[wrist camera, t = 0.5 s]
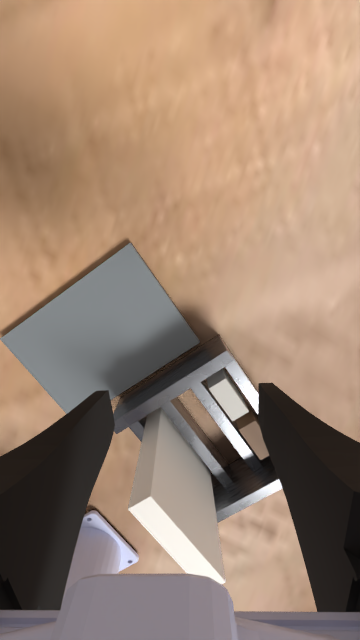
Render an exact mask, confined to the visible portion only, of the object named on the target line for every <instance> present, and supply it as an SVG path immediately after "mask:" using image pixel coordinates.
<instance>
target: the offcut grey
mask: <svg viewBox="0 0 360 640" xmlns="http://www.w3.org/2000/svg"><path fill="white" fill-rule="evenodd" d="M206 379H207V383H208V388H209V390H210V391H211V393H212V394H213V395H214V397H215V398H216V400H217V401H218V402H219V404H220V405H221V406H222V408H223V409H224V411H225V412H226V413H227V415H228V416H229V417H230V419H231V420H232V421H234V420H236V419H238V418H239V417H241V416H243V415H244V414H246V413H248V412H249V411H248V408H247V406H246V404H245V402H244V399H243V397H242V395H241V393H240V392H239V390H238V389H237V387H236V386H235V384H234V383H233V382H232V380H231V379H230V377H229V376H228V374H227V373H226V372H225V370H224V369H223V368H222V369H221V370H219V371H217V372H216V373H214V374H213V375H211V376H209V377H208V378H206Z"/></svg>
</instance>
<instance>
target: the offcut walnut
mask: <svg viewBox="0 0 360 640" xmlns="http://www.w3.org/2000/svg"><path fill="white" fill-rule="evenodd" d="M245 404H246V406H247V408H248V411H249V412H248V413H246V414H244V415H243V416H241V417H239V418H238V419H236V420H235V421H236V424H237V427H238V429H239V431H240V433H241V434H242V435H243V437H244V438H245V439H246V441H247V442H248V444H249V445H250V446H251V448H252V449H253V450H254V452H255V453H256V455H257V456H258V457H259V459H260V460H262V459H264V458H265V457H267V456H269V453H268V450H267V448H266V445H265V443H264V440H263V437H262V433H261V429H260V426H259V422H258V417H257V416H256V415H255V413H254V412H253V410H252V409H251V407H250V406H249V405H248V403H247V402H245Z"/></svg>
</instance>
